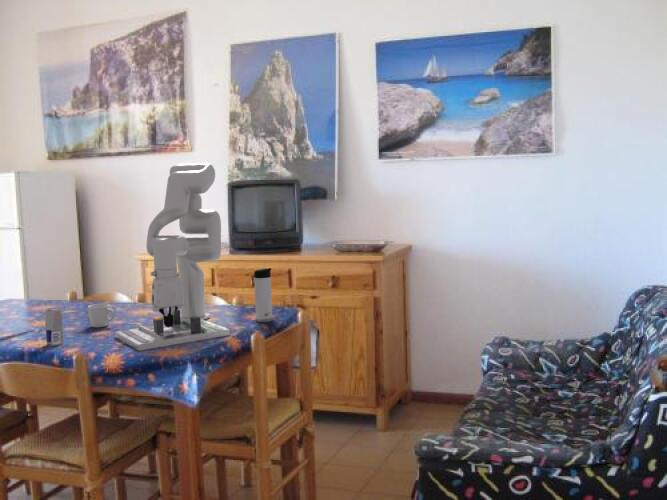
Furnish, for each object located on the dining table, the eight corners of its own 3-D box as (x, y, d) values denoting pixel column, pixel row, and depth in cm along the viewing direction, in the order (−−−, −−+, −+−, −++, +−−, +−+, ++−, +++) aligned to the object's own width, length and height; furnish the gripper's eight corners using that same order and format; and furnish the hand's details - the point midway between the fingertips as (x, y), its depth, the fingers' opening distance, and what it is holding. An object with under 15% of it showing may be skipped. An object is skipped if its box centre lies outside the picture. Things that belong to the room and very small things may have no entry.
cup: (121, 324, 258) (120, 304, 257) (108, 329, 250) (106, 308, 249) (98, 323, 261) (96, 303, 260) (84, 328, 254) (82, 307, 253)
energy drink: (49, 342, 231) (47, 308, 230) (66, 341, 232) (63, 307, 231) (44, 346, 226) (42, 311, 225) (61, 345, 227) (58, 310, 225)
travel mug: (270, 322, 254) (268, 269, 251) (253, 322, 255) (251, 269, 253) (275, 319, 260) (273, 267, 258) (258, 318, 261) (256, 267, 259)
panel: (115, 337, 236) (114, 316, 236) (201, 324, 254) (200, 304, 254) (138, 350, 217) (137, 328, 216) (229, 335, 235) (228, 314, 234)
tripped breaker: (153, 331, 233) (153, 317, 233) (160, 330, 235) (159, 316, 234) (156, 333, 231) (156, 318, 230) (163, 332, 232) (162, 317, 232)
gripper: (148, 277, 225) (151, 331, 227) (190, 272, 234) (193, 325, 236) (140, 275, 231) (144, 327, 233) (182, 270, 240) (185, 321, 242)
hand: (168, 326), depth 234 cm, fingers closed
